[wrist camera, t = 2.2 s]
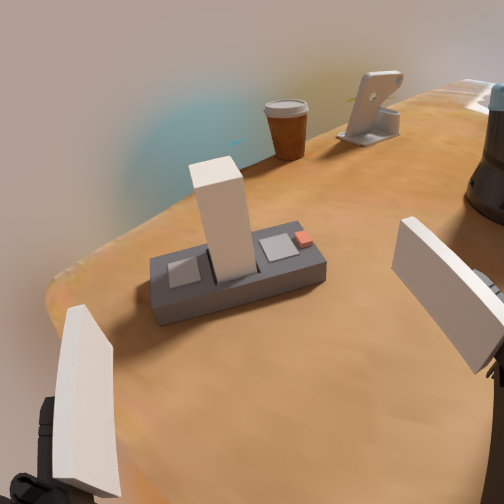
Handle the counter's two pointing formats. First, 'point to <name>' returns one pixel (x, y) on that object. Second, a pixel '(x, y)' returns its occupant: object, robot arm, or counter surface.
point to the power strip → (240, 290)
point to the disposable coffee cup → (287, 127)
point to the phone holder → (373, 110)
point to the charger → (224, 217)
